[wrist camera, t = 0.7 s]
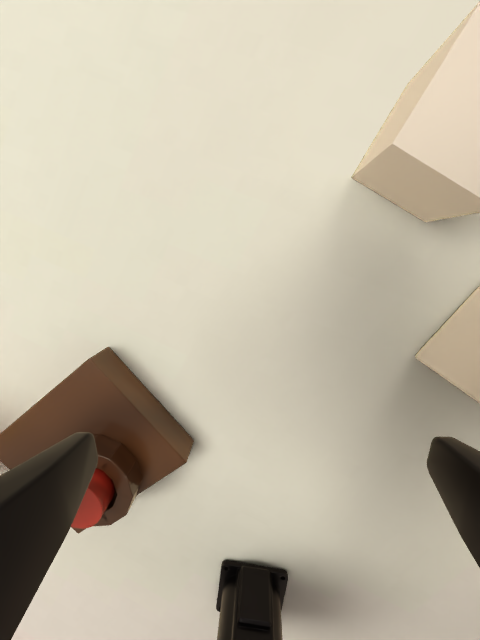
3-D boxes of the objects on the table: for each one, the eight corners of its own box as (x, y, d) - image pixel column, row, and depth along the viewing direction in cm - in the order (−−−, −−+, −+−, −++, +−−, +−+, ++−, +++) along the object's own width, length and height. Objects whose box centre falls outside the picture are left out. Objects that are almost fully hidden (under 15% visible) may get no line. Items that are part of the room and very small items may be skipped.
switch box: (194, 440, 24) (180, 481, 20) (95, 507, 27) (64, 556, 23) (108, 346, 23) (73, 368, 18) (12, 426, 25) (-39, 462, 21)
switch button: (125, 491, 21) (113, 512, 19) (90, 515, 22) (76, 537, 20) (88, 455, 20) (73, 473, 19) (54, 480, 21) (36, 500, 20)
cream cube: (425, 222, 19) (497, 209, 13) (350, 177, 19) (391, 144, 13) (487, 134, 17) (600, 75, 12) (407, 83, 17) (482, -3, 11)
